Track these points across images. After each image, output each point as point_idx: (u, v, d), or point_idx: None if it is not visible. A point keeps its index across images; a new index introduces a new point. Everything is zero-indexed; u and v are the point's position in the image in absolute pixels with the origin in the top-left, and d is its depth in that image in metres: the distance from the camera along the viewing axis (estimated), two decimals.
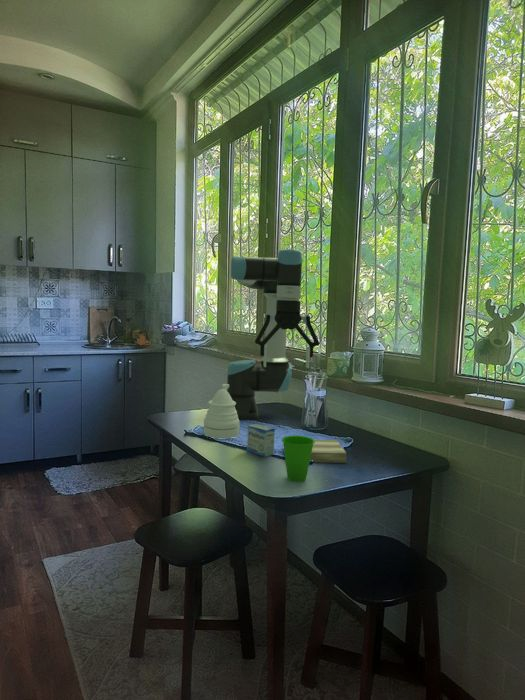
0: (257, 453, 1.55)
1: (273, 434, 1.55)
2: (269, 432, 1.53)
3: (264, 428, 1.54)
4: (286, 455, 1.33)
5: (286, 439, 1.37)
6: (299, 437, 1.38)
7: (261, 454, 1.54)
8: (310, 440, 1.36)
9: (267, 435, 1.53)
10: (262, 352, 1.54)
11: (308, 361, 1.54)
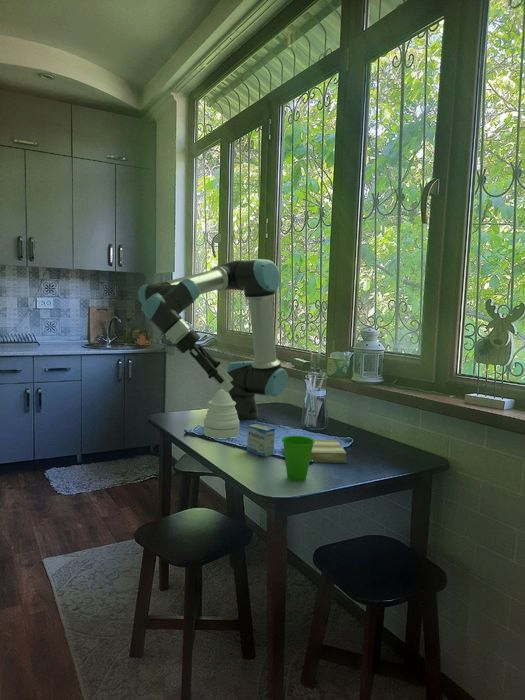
0: (257, 453, 1.55)
1: (273, 434, 1.55)
2: (269, 432, 1.53)
3: (264, 428, 1.54)
4: (286, 455, 1.33)
5: (286, 439, 1.37)
6: (299, 437, 1.38)
7: (261, 454, 1.54)
8: (310, 440, 1.36)
9: (267, 435, 1.53)
10: None
11: None
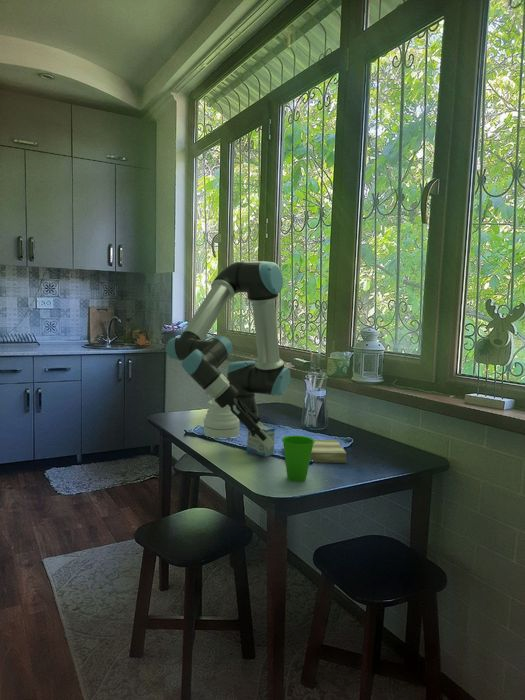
0: (257, 453, 1.55)
1: (273, 434, 1.55)
2: (269, 432, 1.53)
3: (264, 428, 1.54)
4: (286, 455, 1.33)
5: (286, 439, 1.37)
6: (299, 437, 1.38)
7: (261, 454, 1.54)
8: (310, 440, 1.36)
9: None
10: None
11: None
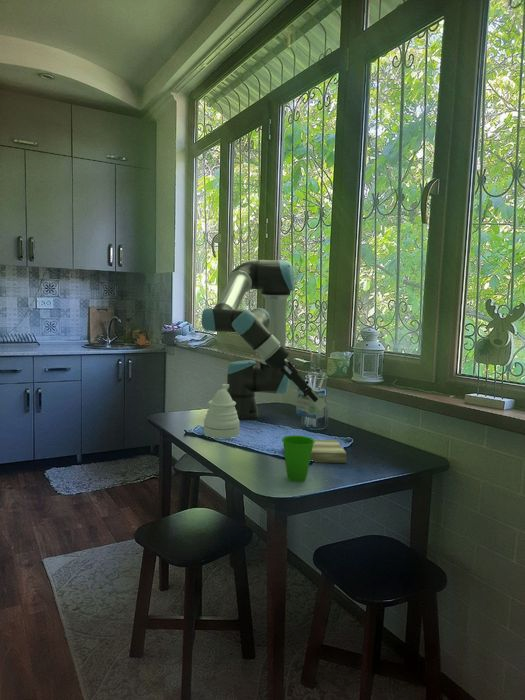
0: (307, 415, 1.53)
1: (323, 396, 1.53)
2: (320, 394, 1.51)
3: (315, 390, 1.52)
4: (286, 455, 1.33)
5: (286, 439, 1.37)
6: (299, 437, 1.38)
7: (311, 416, 1.52)
8: (310, 440, 1.36)
9: None
10: None
11: (315, 405, 1.50)
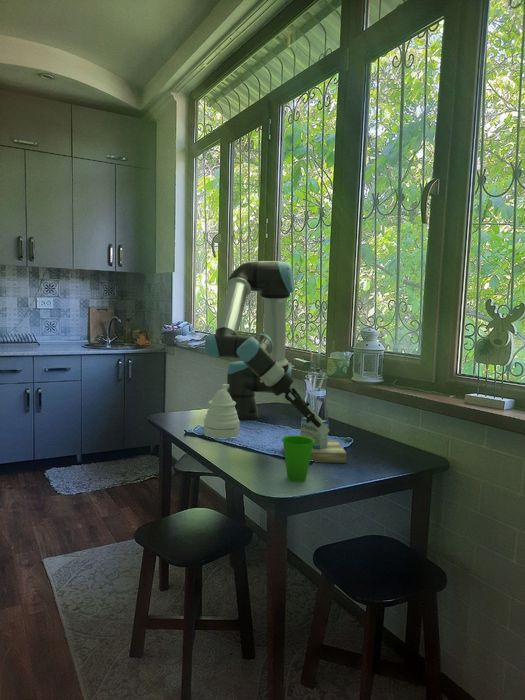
0: None
1: (327, 426, 1.55)
2: None
3: None
4: (286, 455, 1.33)
5: (286, 439, 1.37)
6: (299, 437, 1.38)
7: (316, 446, 1.53)
8: (310, 440, 1.36)
9: None
10: None
11: (318, 431, 1.50)
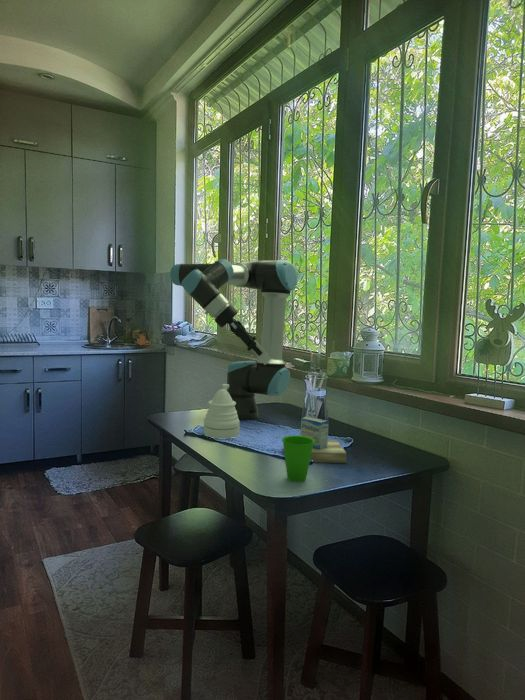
0: None
1: (327, 426, 1.55)
2: (324, 425, 1.53)
3: (318, 420, 1.54)
4: (286, 455, 1.33)
5: (286, 439, 1.37)
6: (299, 437, 1.38)
7: (316, 446, 1.53)
8: (310, 440, 1.36)
9: (322, 427, 1.52)
10: None
11: (260, 360, 1.52)
